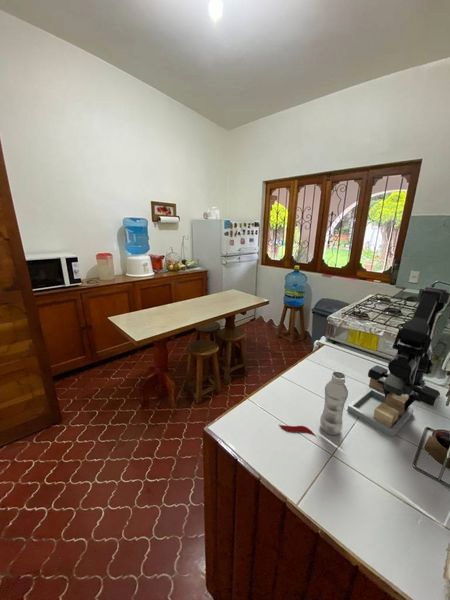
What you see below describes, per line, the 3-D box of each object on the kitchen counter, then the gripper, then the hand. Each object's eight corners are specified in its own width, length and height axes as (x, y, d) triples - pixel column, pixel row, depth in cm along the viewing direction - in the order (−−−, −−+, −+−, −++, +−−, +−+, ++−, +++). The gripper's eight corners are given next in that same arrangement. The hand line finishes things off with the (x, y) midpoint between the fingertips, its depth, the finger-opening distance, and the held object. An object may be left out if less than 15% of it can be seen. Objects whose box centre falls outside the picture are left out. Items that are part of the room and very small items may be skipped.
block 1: (374, 382, 101) (376, 371, 99) (387, 388, 97) (390, 377, 96) (368, 386, 98) (370, 376, 97) (382, 393, 94) (384, 382, 93)
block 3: (379, 414, 83) (381, 402, 82) (395, 424, 79) (399, 411, 78) (372, 421, 80) (374, 409, 79) (389, 431, 76) (392, 418, 75)
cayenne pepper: (318, 433, 77) (318, 428, 76) (314, 444, 73) (315, 439, 73) (281, 418, 83) (281, 413, 82) (276, 427, 79) (276, 423, 79)
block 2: (390, 401, 87) (393, 389, 86) (406, 409, 83) (410, 396, 82) (384, 407, 84) (386, 394, 83) (400, 415, 80) (404, 403, 79)
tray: (369, 393, 94) (370, 387, 94) (412, 415, 84) (413, 409, 83) (347, 411, 85) (348, 405, 85) (392, 438, 75) (393, 432, 74)
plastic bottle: (340, 424, 80) (349, 370, 74) (342, 441, 74) (352, 384, 68) (318, 419, 82) (326, 366, 76) (319, 435, 76) (327, 379, 70)
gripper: (363, 359, 81) (356, 399, 86) (434, 389, 67) (420, 434, 72) (379, 349, 88) (371, 387, 92) (446, 375, 73) (433, 417, 78)
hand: (396, 404), depth 83 cm, fingers open, 5 cm apart
